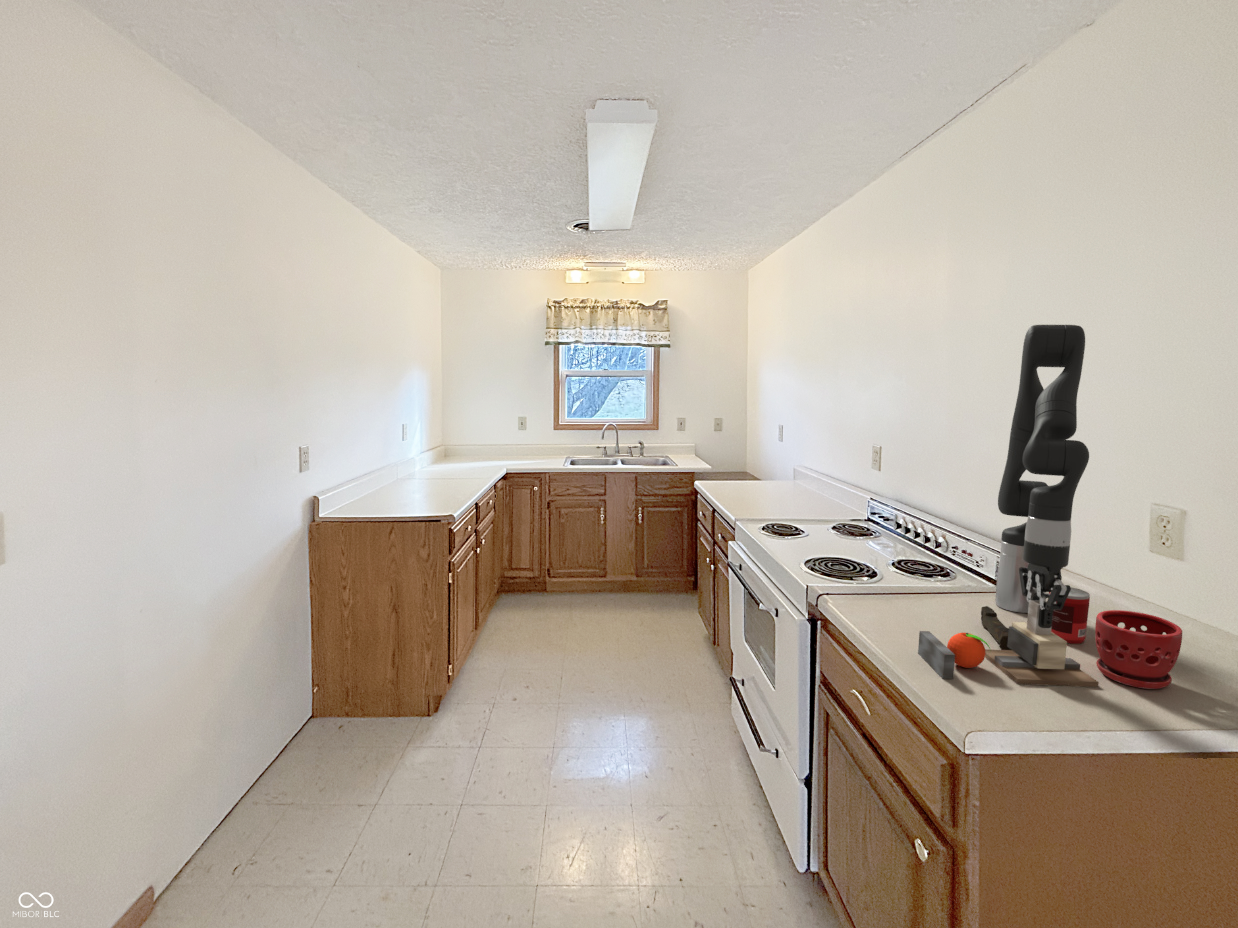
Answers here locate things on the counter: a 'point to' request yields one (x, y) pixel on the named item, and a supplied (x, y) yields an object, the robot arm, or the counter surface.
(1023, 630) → the jaw
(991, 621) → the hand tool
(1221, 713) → the counter surface
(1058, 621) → the canned food
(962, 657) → the clementine
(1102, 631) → the plant pot
